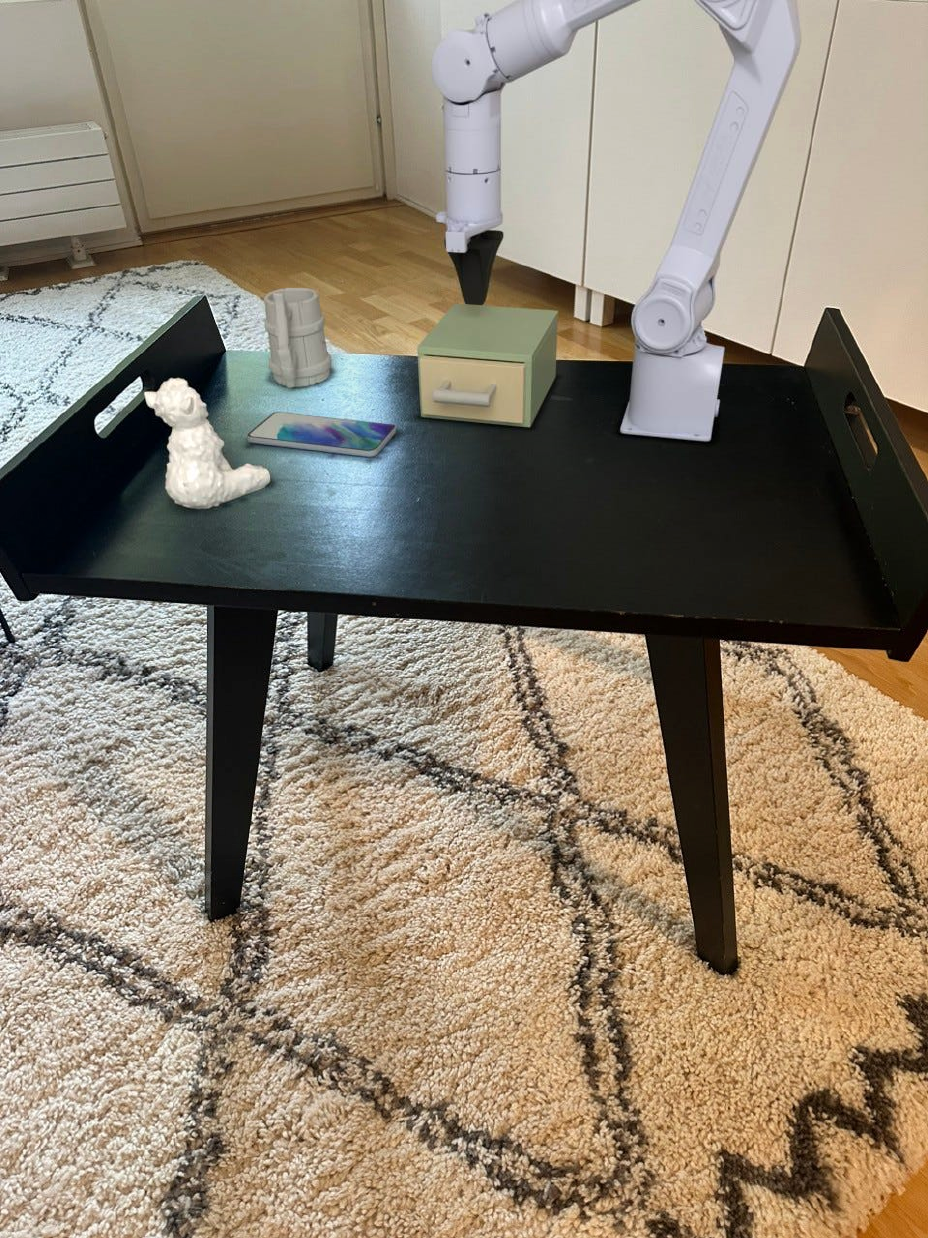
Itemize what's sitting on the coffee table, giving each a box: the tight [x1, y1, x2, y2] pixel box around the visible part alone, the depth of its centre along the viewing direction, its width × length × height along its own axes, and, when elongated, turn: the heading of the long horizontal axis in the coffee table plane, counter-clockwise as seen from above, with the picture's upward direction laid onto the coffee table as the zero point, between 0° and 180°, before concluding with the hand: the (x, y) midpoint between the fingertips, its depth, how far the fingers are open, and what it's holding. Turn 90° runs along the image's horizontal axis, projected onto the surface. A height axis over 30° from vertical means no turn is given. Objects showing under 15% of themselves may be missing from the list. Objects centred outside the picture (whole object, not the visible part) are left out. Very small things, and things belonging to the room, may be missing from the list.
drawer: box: [420, 355, 526, 424], centre depth 100 cm, size 18×11×6 cm, turn 164°
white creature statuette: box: [143, 377, 271, 510], centre depth 84 cm, size 10×9×12 cm
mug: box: [263, 287, 333, 388], centre depth 106 cm, size 8×12×12 cm, turn 178°
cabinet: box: [416, 303, 559, 428], centre depth 102 cm, size 15×13×8 cm
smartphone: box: [246, 411, 397, 458], centre depth 97 cm, size 7×1×15 cm
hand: (475, 302), depth 100 cm, fingers closed
